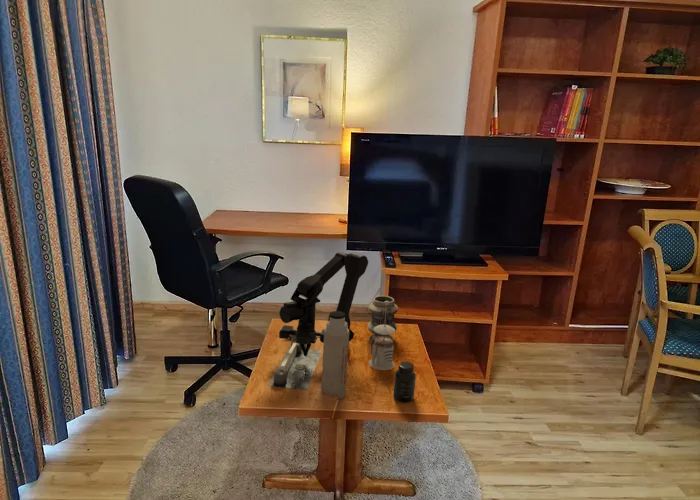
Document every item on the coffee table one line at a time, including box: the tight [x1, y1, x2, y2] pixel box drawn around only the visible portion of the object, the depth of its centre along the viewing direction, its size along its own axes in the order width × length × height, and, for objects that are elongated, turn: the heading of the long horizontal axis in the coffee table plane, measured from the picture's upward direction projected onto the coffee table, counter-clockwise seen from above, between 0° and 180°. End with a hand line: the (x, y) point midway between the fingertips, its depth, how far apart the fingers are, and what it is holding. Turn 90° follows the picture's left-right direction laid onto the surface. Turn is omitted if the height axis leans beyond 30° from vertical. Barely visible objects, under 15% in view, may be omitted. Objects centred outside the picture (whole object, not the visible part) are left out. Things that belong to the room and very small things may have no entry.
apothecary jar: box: [367, 295, 399, 343], centre depth 199 cm, size 12×12×18 cm
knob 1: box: [273, 354, 290, 385], centre depth 164 cm, size 13×4×4 cm, turn 173°
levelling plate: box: [267, 346, 323, 391], centre depth 171 cm, size 13×29×2 cm, turn 173°
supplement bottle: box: [392, 360, 417, 404], centre depth 157 cm, size 7×7×12 cm
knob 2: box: [288, 341, 302, 365], centre depth 178 cm, size 13×4×4 cm, turn 173°
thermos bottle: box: [321, 310, 350, 400], centre depth 156 cm, size 8×8×28 cm
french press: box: [368, 301, 396, 371], centre depth 177 cm, size 10×12×25 cm
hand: (305, 355), depth 174 cm, fingers closed
